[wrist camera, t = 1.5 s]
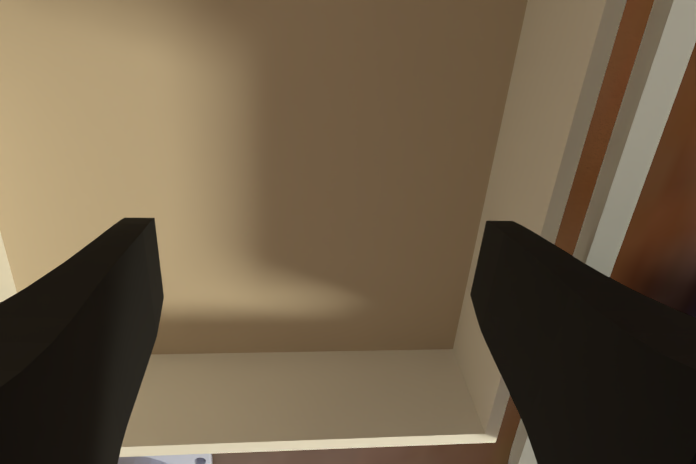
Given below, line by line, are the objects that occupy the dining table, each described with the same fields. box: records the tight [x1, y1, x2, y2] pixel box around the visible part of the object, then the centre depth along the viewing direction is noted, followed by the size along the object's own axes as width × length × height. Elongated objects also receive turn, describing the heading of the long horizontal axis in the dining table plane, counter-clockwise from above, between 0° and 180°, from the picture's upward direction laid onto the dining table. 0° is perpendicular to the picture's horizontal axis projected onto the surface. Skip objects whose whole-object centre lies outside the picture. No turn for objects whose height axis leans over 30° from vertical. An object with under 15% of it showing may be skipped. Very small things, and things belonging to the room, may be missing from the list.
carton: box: [0, 0, 627, 457], centre depth 17 cm, size 20×18×5 cm
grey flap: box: [508, 0, 696, 464], centre depth 14 cm, size 20×5×1 cm
